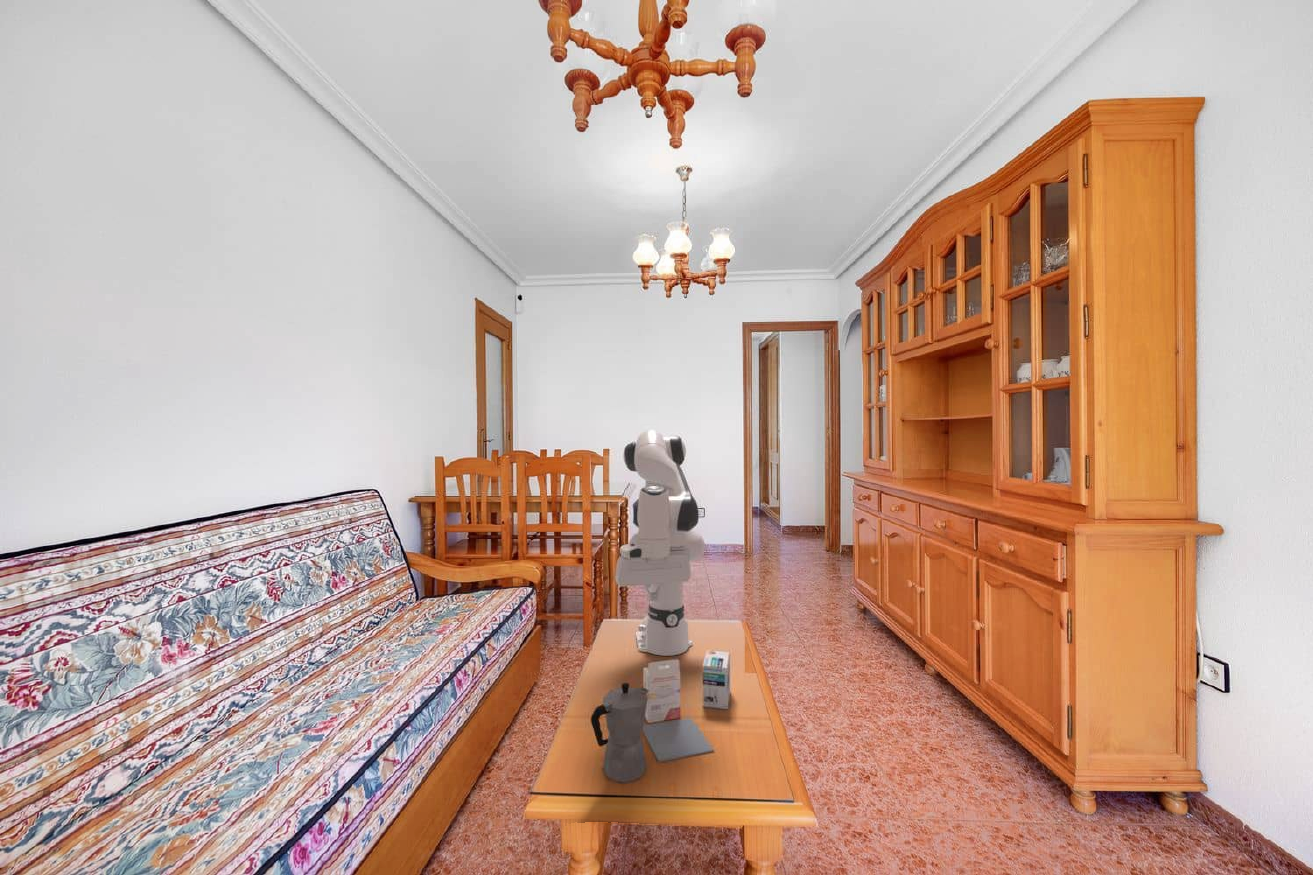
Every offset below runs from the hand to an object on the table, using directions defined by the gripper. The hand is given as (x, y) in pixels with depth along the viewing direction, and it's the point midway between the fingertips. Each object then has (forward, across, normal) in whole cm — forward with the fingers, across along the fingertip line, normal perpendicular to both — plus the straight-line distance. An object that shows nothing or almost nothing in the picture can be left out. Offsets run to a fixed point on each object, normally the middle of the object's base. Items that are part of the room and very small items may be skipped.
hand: (653, 600), depth 137 cm
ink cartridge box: (+27, 0, +7) cm, 28 cm away
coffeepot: (+27, +15, +25) cm, 40 cm away
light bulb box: (+27, -17, +3) cm, 32 cm away
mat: (+27, 0, +18) cm, 32 cm away
